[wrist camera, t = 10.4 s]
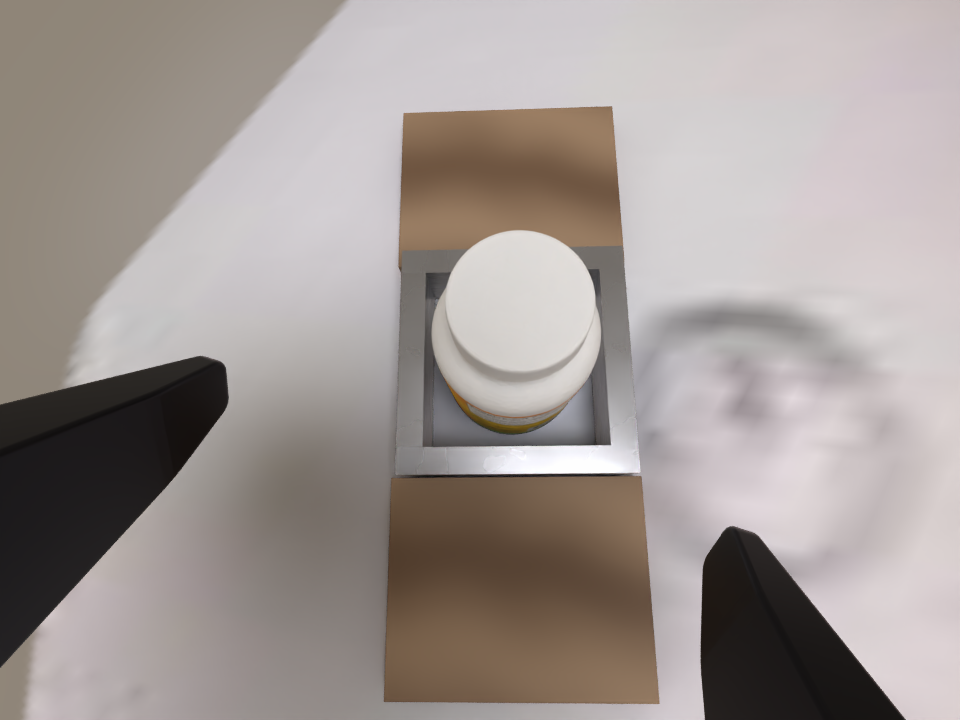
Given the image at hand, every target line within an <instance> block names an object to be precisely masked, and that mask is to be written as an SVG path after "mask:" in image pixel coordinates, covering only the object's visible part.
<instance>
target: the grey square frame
mask: <svg viewBox="0 0 960 720" xmlns="http://www.w3.org/2000/svg"><path fill="white" fill-rule="evenodd" d="M569 248H570V249H571V250H573V251H574V252H575V253H576V254H577V255H578V256H579V258H580V259H581V260H582V261H583V263H584V265H585V266H586V268H587V270H588V272H589V274H590V276H591V279H592V282H593V285H594V290H595V304H596V307H597V310H598V313H599V318H600V324H601V342H600V349H599V353H598V357H597V360H596V362H595V365H594V367H593V369H592V371H591V372H592V389H593V406H594V422H595V439H596V445H590V446H485V447H433V391H434V351H433V346H432V321H433V316H434V312H435V299H440V297H441V295H442V293H443V292H444V290H445V288H446V286H447V283H448V280H449V277H450V275H451V272H452V270H453V268H454V267H455V265H456V263H457V262H458V261H459V259H460V258H461V257H462V256H463V255H464V254H465V253H466V252H467V251H468V250H469V249H453V250H410V251H402V269H401V300H400V331H399V363H398V394H397V426H396V457H395V475H404V476H471V475H604V474H632V473H641V471H640V459H639V446H638V433H637V421H636V408H635V395H634V383H633V370H632V357H631V345H630V332H629V320H628V307H627V294H626V282H625V269H624V256H623V246H584V247H569Z"/></svg>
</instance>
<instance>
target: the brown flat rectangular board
mask: <svg viewBox="0 0 960 720" xmlns="http://www.w3.org/2000/svg"><path fill="white" fill-rule="evenodd" d="M513 230H526V231H534V232H538V233H542V234H545V235H548V236H551V237H553V238H555V239H557V240H559V241H560V242H562V243H564V244H565V245H566V246H568V247H584V246H623V238H622V225H621V213H620V200H619V188H618V175H617V162H616V150H615V137H614V125H613V112H612V106H610V107H579V108H548V109H517V110H486V111H455V112H424V113H404V116H403V146H402V176H401V206H400V236H399V266H398V267H399V269H400V271H401V269H402V251H410V250H453V249H470V248H471V247H472V246H474V245H475V244H477V243H478V242H480V241H481V240H483V239H485V238H487V237H489V236H492V235H495V234H498V233H501V232H506V231H513ZM623 256H624V251H623ZM384 702H477V703H604V704H659V692H658V679H657V666H656V654H655V641H654V629H653V616H652V603H651V591H650V578H649V566H648V553H647V540H646V528H645V515H644V503H643V490H642V477H641V476H612V477H477V478H391V506H390V536H389V566H388V596H387V626H386V656H385V686H384Z"/></svg>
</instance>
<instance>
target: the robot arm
mask: <svg viewBox="0 0 960 720" xmlns="http://www.w3.org/2000/svg"><path fill="white" fill-rule="evenodd" d="M228 399H229V396H228V385H227V374H226V367H225V365H224V364H223V363H222V362H220V361H218V360H215V359H211V358H208V357H205V356H197V357H193V358H189V359H185V360H181V361H177V362H172V363H168V364H164V365H160V366H156V367H152V368H148V369H144V370H140V371H136V372H131V373H127V374H123V375H119V376H115V377H111V378H107V379H103V380H99V381H95V382H91V383H86V384H82V385H78V386H74V387H70V388H66V389H62V390H58V391H54V392H50V393H46V394H41V395H38V396H33V397H29V398H26V399H22V400H17V401H13V402H9V403H5V404H1V405H0V667H1V666H2V665H3V664H4V663H5V662H6V661H7V660H8V659H9V658H10V657H11V656H12V655H13V653H14V652H15V651H16V650H17V649H18V648H19V647H20V646H21V645H22V644H23V642H25V640H26V639H27V638H28V637H29V636H30V635H31V634H32V633H33V632H34V631H35V630H36V628H37V627H38V626H39V625H40V624H41V623H42V622H43V621H44V620H45V619H46V618H47V616H48V615H49V614H50V613H51V612H52V611H53V610H54V609H55V608H56V607H57V606H58V604H59V603H60V602H61V601H62V600H63V599H64V598H65V597H66V596H67V595H68V594H69V592H70V591H71V590H72V589H73V588H74V587H75V586H76V585H77V584H78V583H79V582H80V580H81V579H82V578H83V577H84V576H85V575H86V574H87V573H88V572H89V571H90V570H91V568H92V567H93V566H94V565H95V564H96V563H97V562H98V561H99V560H100V559H101V558H102V556H103V555H104V554H105V553H106V552H107V551H108V550H109V549H110V548H111V547H112V546H113V544H114V543H115V542H116V541H117V540H118V539H119V538H120V537H121V536H122V535H123V534H124V532H125V531H126V530H127V529H128V528H129V527H130V526H131V525H132V524H133V523H134V522H135V520H136V519H137V518H138V517H139V516H140V515H141V514H142V513H143V512H144V511H145V510H146V508H147V507H148V506H149V505H150V504H151V503H152V502H153V501H154V500H155V499H156V498H157V496H158V495H159V494H160V493H161V492H162V491H163V490H164V489H165V488H166V487H167V485H168V484H169V483H170V482H171V481H172V480H173V479H174V477H175V476H176V475H177V474H178V472H179V471H180V470H181V469H182V467H183V466H184V465H185V463H186V462H187V461H188V459H189V458H190V457H191V455H192V454H193V453H194V451H195V450H196V449H197V447H198V446H199V445H200V443H201V442H202V441H203V439H204V438H205V437H206V435H207V434H208V433H209V431H210V430H211V429H212V427H213V426H214V424H215V423H216V422H217V420H218V419H219V418H220V416H221V415H222V414H223V412H224V411H225V409H226V407H227V404H228ZM701 676H702V689H703V701H704V712H705V720H906V719H905V718H904V717H903V716H902V714H901V713H900V712H899V711H898V709H897V708H896V707H895V706H894V704H893V703H892V702H891V701H890V699H889V698H888V697H887V696H886V694H885V693H884V692H883V691H882V689H881V688H880V687H879V686H878V684H877V683H876V682H875V681H874V679H873V678H872V677H871V676H870V674H869V673H868V672H867V671H866V670H865V668H864V667H863V666H862V665H861V663H860V662H859V661H858V660H857V658H856V657H855V656H854V655H853V653H852V652H851V651H850V650H849V648H848V647H847V646H846V645H845V643H844V642H843V641H842V640H841V638H840V637H839V636H838V635H837V633H836V632H835V631H834V630H833V628H832V627H831V626H830V625H829V623H828V622H827V621H826V620H825V618H824V617H823V616H822V615H821V613H820V612H819V611H818V610H817V608H816V607H815V606H814V605H813V603H812V602H811V601H810V600H809V598H808V597H807V596H806V595H805V593H804V592H803V591H802V590H801V588H800V587H799V586H798V585H797V583H796V582H795V581H794V580H793V578H792V577H791V576H790V575H789V573H788V572H787V571H786V570H785V568H784V567H783V566H782V565H781V563H780V562H779V561H778V560H777V558H776V557H775V556H774V555H773V553H772V552H771V551H770V550H769V548H768V547H767V546H766V545H765V543H764V542H763V541H762V540H761V538H760V537H759V536H758V535H756V534H755V533H753V532H750V531H747V530H744V529H741V528H738V527H734V526H730V527H728V528H726V529H725V530H724V531H723V533H722V534H721V536H720V537H719V539H718V540H717V542H716V543H715V545H714V546H713V547H712V549H711V550H710V552H709V553H708V555H707V557H706V559H705V561H704V565H703V579H702V616H701Z"/></svg>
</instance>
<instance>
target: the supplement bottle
mask: <svg viewBox="0 0 960 720" xmlns="http://www.w3.org/2000/svg"><path fill="white" fill-rule="evenodd" d="M600 342H601V324H600V318H599V313H598V310H597V307H596V304H595V290H594V285H593V282H592V279H591V276H590V274H589V272H588V270H587V268H586V266H585V265H584V263H583V261H582V260H581V259H580V258H579V256H578V255H577V254H576V253H575V252H574V251H573V250H571V249H570V248H569V247H568V246H566V245H565V244H564V243H562V242H560V241H559V240H557V239H555V238H553V237H551V236H548V235H545V234H542V233H538V232H534V231H526V230H513V231H506V232H501V233H498V234H495V235H492V236H489V237H487V238H485V239H483V240H481V241H480V242H478V243H477V244H475V245H474V246H472V247H471V248H470V249H469V250H468V251H467V252H466V253H465V254H464V255H463V256H462V257H461V258H460V259H459V261H458V262H457V263H456V265H455V267H454V268H453V270H452V272H451V275H450V277H449V280H448V283H447V286H446V288H445V290H444V292H443V293H442V295H441V297H440V299H439V301H438V303H437V306H436V309H435V312H434V316H433V321H432V346H433V351H434V355H435V358H436V361H437V364H438V367H439V369H440V371H441V373H442V375H443V377H444V379H445V381H446V383H447V385H448V387H449V388H450V390H451V392H452V394H453V396H454V398H455V400H456V402H457V403H458V405H459V406H460V408H461V409H462V410H463V411H464V413H465V414H466V415H467V416H468V417H469V418H470V419H471V420H473V421H474V422H476V423H477V424H479V425H480V426H482V427H484V428H486V429H488V430H491V431H494V432H498V433H502V434H522V433H527V432H530V431H534V430H536V429H538V428H540V427H542V426H544V425H546V424H547V423H549V422H550V421H551V420H553V419H554V418H555V417H556V416H557V415H558V414H559V413H560V412H561V411H562V410H563V409H564V407H565V406H566V405H567V404H568V402H569V401H570V400H571V399H572V398H573V396H574V395H575V394H576V393H577V392H578V391H579V390H580V388H581V387H582V386H583V385H584V383H585V382H586V380H587V379H588V377H589V375H590V374H591V371H592V369H593V367H594V365H595V362H596V360H597V357H598V353H599V349H600Z"/></svg>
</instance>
